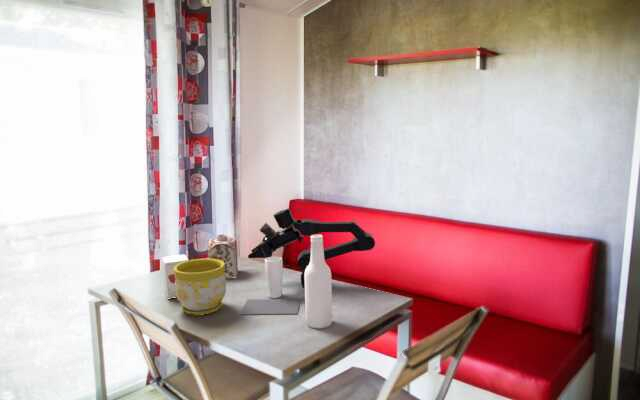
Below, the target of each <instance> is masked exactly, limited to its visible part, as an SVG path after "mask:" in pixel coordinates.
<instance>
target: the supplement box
mask: <svg viewBox="0 0 640 400" xmlns="http://www.w3.org/2000/svg"><path fill="white" fill-rule="evenodd" d="M161 260H162V272H163V273H162V274H163V287H164V288H163V290H164V294H166V295H165V296H167V297H166V299H167V298H172V297H177V296H176V291H175V281H176V278H175V274H176V273H174V267H175V266H176V265H178V264H180V263H182V262H185V261H189V259H188V256H186V254H184V253H183V254H178V255H177V254H176V255H170V256H169V255H168V256H163V257H162V258H161Z"/></svg>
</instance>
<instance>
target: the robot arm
mask: <svg viewBox="0 0 640 400" xmlns="http://www.w3.org/2000/svg"><path fill="white" fill-rule="evenodd" d="M272 216H273V218H274V219H275V222H276V224H277V225H278V227H279V228H280V229H283V230H281V231H276V230H274V229H273V227H271V226H270V225H269V224H268V223H267V222H265V223H264V224H263V225H262V226H261V227H260V228H259V231H260V233H262V234H263V235H265V236H263V238H262V241H261V242H260V243H259V244H257V245H256V246H255V247H254V248H252V249H251V253H249V254H248V255H247V257H248V258H249V259H265V258H267V257H273V254H274V252H276V251H277V250H279V249H280V248H285V247H286V245H289V244H291V243H293V242H295V241H298V243H299V244H302V241H303V240H304V237H305V236H306V237H310V236H312V235H319V234H321V233H351V234H352V235H353V237H354V238H353V239H352V240H349V241H346V242H343V243H340V244H337V245H332V246H330V247H326V248H323V250H324V259H325V261H326V260H329V259H333V258H336V257H339V256H340V257H341V256H342V255H345V254H348V253H352V252H366V251H367V252H368V251H371V250H373V249H374V247H375V246H376V241H375V239H374V236H373V234H371V233H369V232H366V231H365V230H364V229H363V228H362V227H361V226H359V225H358V224H357V222H356V221H353V220H351V221H319V220H315V219H310V218H303V219H297V218H294V217H293V215H292V212H291V210H290V208H286V209H283V210H279V211H277V212H276V213H274V214H273V215H272ZM310 256H311V247H310V248H308V249H304V250H302V251H301V252H300V253H299V255H298V257H297V261H296V262H297V266H298V268H299V269H301V270H302V272H301V273H300V285H301V287H302V288H303V289H305V280H304V273H305V269H306V267H307V266H308V265H309V263H310Z"/></svg>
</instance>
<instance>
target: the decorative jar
mask: <svg viewBox="0 0 640 400" xmlns="http://www.w3.org/2000/svg"><path fill="white" fill-rule="evenodd" d="M237 248H238V247H237V240H236V238H233V237H230V236H228V235H227V234H223V233H222V234H217V235H216V237H215V238H211V239H209V241H208V246H207V252H208V254H207V255H208V257H207V259H217V260H221V261H223V262H224V263H225V268H224V270H225V272H224V275H225V278H229V277H237V278H238V272H239V265H238V264H239V263H238V250H237ZM229 279H230V278H229Z"/></svg>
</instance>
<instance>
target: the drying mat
mask: <svg viewBox="0 0 640 400" xmlns="http://www.w3.org/2000/svg"><path fill="white" fill-rule="evenodd" d="M300 301H301V298H255V299H254V298H253V299H251V298H250V299H249V298H248V299H247V300H246V301H245V303H244V305H243V307H242V309H241V311H240V313H239V315H240V316H257V315H258V316H263V315H264V316H265V315H266V316H269V315H272V316H273V315H275V316H276V315H278V316H279V315H280V316H281V315H283V316H284V315H290V316H291V315H298V312H299V307H300V304H301V303H300Z"/></svg>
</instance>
